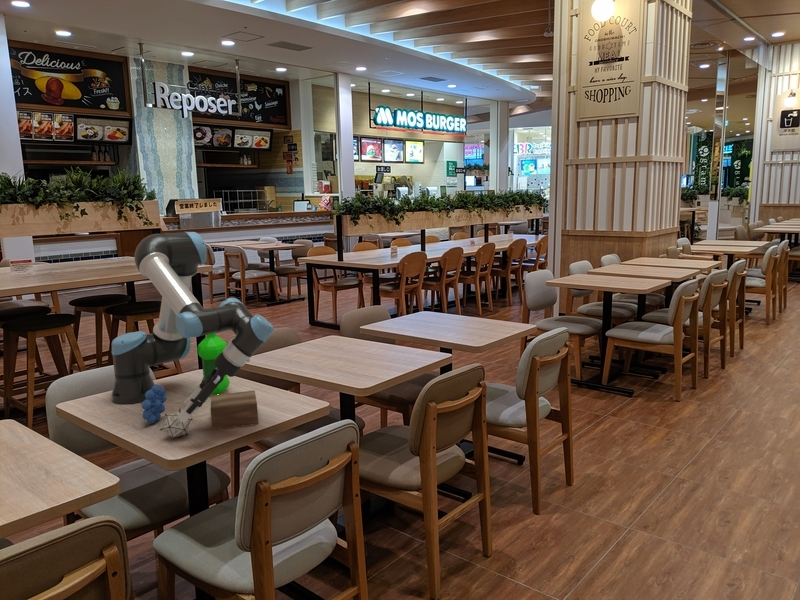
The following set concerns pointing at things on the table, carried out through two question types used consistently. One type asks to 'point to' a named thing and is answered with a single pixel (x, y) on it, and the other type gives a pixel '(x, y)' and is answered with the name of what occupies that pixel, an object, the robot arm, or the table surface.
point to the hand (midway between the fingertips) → (184, 412)
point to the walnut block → (233, 409)
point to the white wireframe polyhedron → (175, 425)
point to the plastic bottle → (212, 358)
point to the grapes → (154, 404)
